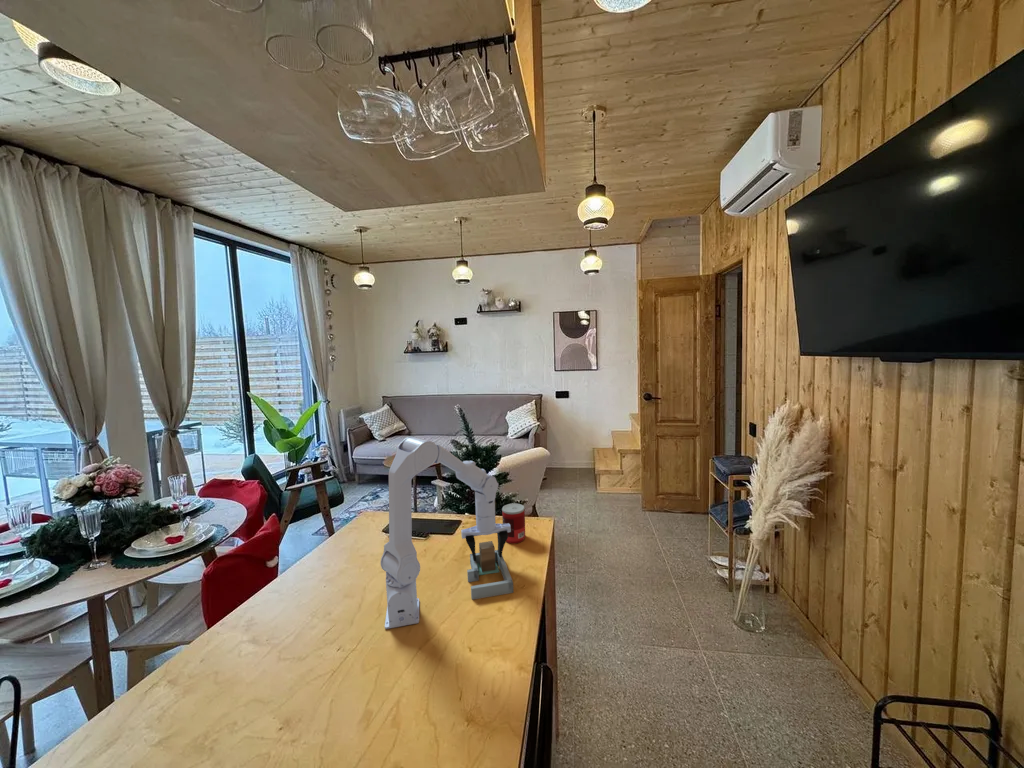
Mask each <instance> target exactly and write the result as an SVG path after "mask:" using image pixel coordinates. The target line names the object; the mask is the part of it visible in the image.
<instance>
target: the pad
mask: <svg viewBox="0 0 1024 768" xmlns="http://www.w3.org/2000/svg"><path fill="white" fill-rule="evenodd" d="M477 567H478V575H479V576H484V575H490V574H497V573H500V568H499V565H498V562H496V561H495V570H492V571H486V572H482V570H481V567H480V563H477Z"/></svg>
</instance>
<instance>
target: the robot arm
mask: <svg viewBox="0 0 1024 768" xmlns="http://www.w3.org/2000/svg"><path fill="white" fill-rule="evenodd" d="M439 463H440V464H441V465H443V466H445V467H447V468H448V469H450V470H452V471H454V472H455V477H456V479H457V480H459V481H461V482H463V483H464V484H465V485H467V486H468V487H470V489H471V490H472V491H474V503H475V505H474V506H475V522H476V524H475V525H474V526H471V527H468V528H462V529H461V531H460V532H461V539H462V540H464V539H465V542H466V544H467V545H468V547H469V550H470V551H471V554H472V555H473V560H474V561H476V554H475V553H476V540H475V537H478V536H488V535H489V536H490V535H493V534H497V550H498V555H499V557H502V556H503V550H504V547H505V544H506V543H507V542H506V540H507V539H508V534H507V532H511V526H510V524H509V523H508V524H503V523H496V497H497V494H496V493H497V491H498V489H499V482H498V481H497V478H496V477H495V476H493V475H491V474H488V473H487V472H486V470H485V469H484V468H480V467H478V466H477V465H476V463H477V462H475V461H473V460H463V461H462V460H460V459H459V458H458V457H457V456H455V455H453V454H452V453H451V452H450V451H449V450H447V449H446V448H444V447H443V446H441V445H440V444H436V443H435V442H433V441H431V440H425V439H422V438H418V437H415V436H412V435H411V436H406V437H405V438H403V440H402V441H400V443H398V444H397V445H396V453H395V456H394V458H393V460H392V463H391V465H390V468H389V470H388V539H389V541H388V542H386V543H385V544H384V545H383V553H382V554H381V555H382V556H381V557H380V563H379V564H380V567H381V569H382V570H383V571H384V572H385V586H386V588H385V590H386V602H387V603H386V604H387V605H386V613H385V621H384V629H386V630H388V629H394V628H399V627H405V626H409V625H415V624H419V622H420V598H419V597H418V595H417V594H418V593H417V592H418V591H417V578H418V576H419V574H420V572H421V564H420V561H419V560H418V556H417V555H418V554H417V550H416V547H415V545H414V543H413V538H412V537H413V536H412V535H413V533H412V531H413V528H412V526H413V525H412V523H413V521H412V518H413V517H412V516H413V515H412V514H413V513H412V505H413V504H412V480H413V478H414V477H415V476H416V475H418V474H419V473H421V472H423V471H424V470H426V469H427V468H429V467H431V466H432V465H433V464H439Z"/></svg>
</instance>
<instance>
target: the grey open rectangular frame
mask: <svg viewBox="0 0 1024 768" xmlns="http://www.w3.org/2000/svg"><path fill="white" fill-rule="evenodd" d="M475 554H476V561H474V560H473V555H472V553H470V554H469V562H470V563H469V564H470V567H471V569H467V583H472V582H477V581H480V575H479V573H478V567H477V563H480V553H479V552H475ZM504 558H505V557H504V556H503V555H502V557H499V555H498V549H495V561H496V563H497V566H498V568H499V571H500V573H501V575H502V578H503V580H501V581H496V582H495V581H494V582H488V583H483V584H476V585H471V586H470V594H471V595H470V596H471V600H473V601H474V600H478V599H484V598H490V597H497V596H500V595H502V596H503V595H509V594H512V593H514V581H513V578H512V575H511V574H510V571H509V568H508V566H507V563H506V561H505V559H504Z"/></svg>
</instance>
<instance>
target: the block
mask: <svg viewBox="0 0 1024 768" xmlns="http://www.w3.org/2000/svg"><path fill="white" fill-rule="evenodd" d="M478 547H479V549H478V550H479V551H478V553H480V567H481V570H482V572H486V571H492V570H495V550H496V549H495V548H496V546H495V545H494V543H493V540H490V541H482V542H478Z"/></svg>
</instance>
